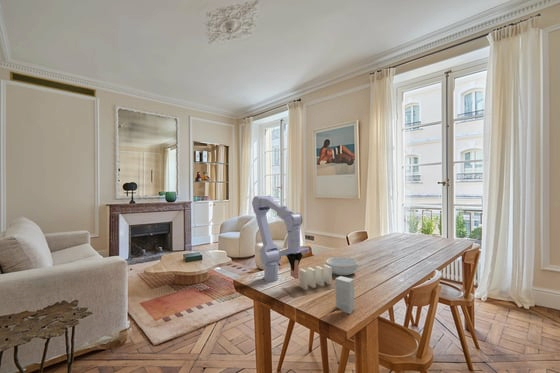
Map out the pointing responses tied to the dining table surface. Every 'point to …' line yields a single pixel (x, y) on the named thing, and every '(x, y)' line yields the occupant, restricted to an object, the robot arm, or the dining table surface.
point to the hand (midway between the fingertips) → (294, 269)
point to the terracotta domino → (295, 270)
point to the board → (298, 291)
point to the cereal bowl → (342, 265)
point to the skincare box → (345, 294)
